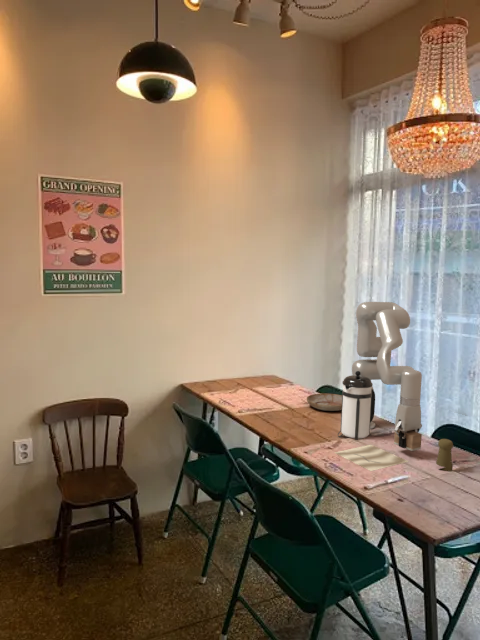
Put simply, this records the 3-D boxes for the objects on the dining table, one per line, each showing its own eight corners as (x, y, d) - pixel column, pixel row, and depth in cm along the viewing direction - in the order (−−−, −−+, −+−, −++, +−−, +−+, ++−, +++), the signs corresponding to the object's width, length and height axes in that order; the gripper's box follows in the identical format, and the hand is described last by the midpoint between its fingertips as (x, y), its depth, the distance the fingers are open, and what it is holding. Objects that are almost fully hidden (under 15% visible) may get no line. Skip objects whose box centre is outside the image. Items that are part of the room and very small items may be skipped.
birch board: (333, 456, 197) (333, 452, 197) (370, 448, 207) (370, 444, 207) (370, 475, 180) (370, 471, 180) (408, 465, 190) (409, 461, 190)
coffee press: (375, 445, 210) (379, 375, 207) (337, 441, 214) (340, 373, 210) (373, 432, 227) (376, 367, 224) (337, 429, 230) (340, 365, 227)
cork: (438, 463, 193) (440, 436, 191) (454, 467, 189) (456, 439, 188) (433, 468, 188) (435, 440, 187) (449, 472, 184) (451, 444, 183)
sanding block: (394, 443, 200) (394, 429, 199) (402, 441, 203) (403, 427, 202) (412, 451, 192) (412, 436, 192) (420, 449, 195) (421, 434, 194)
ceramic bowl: (297, 404, 270) (298, 395, 270) (333, 400, 281) (333, 391, 280) (322, 416, 250) (323, 406, 249) (359, 411, 260) (360, 402, 259)
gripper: (417, 396, 203) (414, 439, 205) (387, 401, 194) (384, 446, 196) (432, 401, 197) (429, 445, 199) (402, 406, 188) (399, 452, 190)
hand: (407, 445), depth 197 cm, fingers closed on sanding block, 5 cm apart
